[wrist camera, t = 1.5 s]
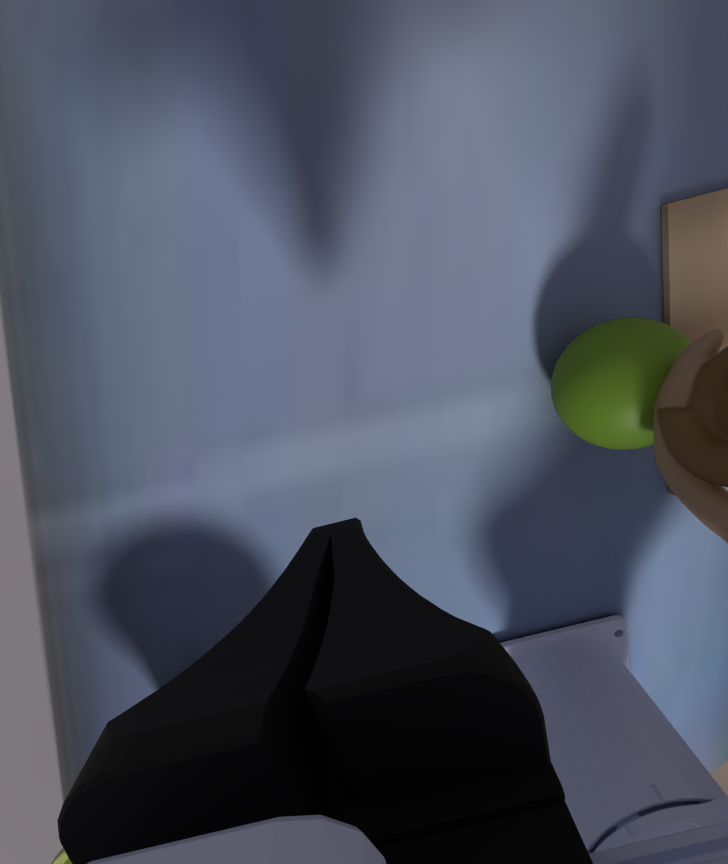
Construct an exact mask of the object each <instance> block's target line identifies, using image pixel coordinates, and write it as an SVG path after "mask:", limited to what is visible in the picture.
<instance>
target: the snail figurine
mask: <svg viewBox="0 0 728 864" xmlns="http://www.w3.org/2000/svg"><path fill="white" fill-rule="evenodd" d="M723 339H724V334H723V331H722V330H720V329H715V330H712V331H710V332H708V333H706V334H704V335H703V336H701V337H700V338H698V339H697V340H696V341H694V342H693V343H691V341H690V340H689V339H688V338H687V337H686V336H684V335H683V334H682V333H681V332H679V331H678V330H676V329H675V328H673V327H671V326H669V325H667V324H664V323H662V322H659V321H655V320H651V319H646V318H620V319H614V320H610V321H606V322H603V323H600V324H598V325H596V326H593V327H591V328H590V329H588V330H586V331H585V332H583V333H582V334H580V335H579V336H577V337H576V338H575V339H574V340H573V341H572V342H571V343H570V344H569V345H568V346H567V347H566V348H565V350H564V351H563V352H562V354H561V355H560V357H559V359H558V361H557V363H556V365H555V368H554V371H553V375H552V381H551V394H552V400H553V404H554V407H555V409H556V412H557V414H558V415H559V417H560V419H561V420H562V422H563V423H564V424H565V425H566V426H567V427H568V428H569V429H570V430H571V431H572V432H573V433H574V434H576V435H577V436H578V437H580V438H581V439H583V440H585V441H587V442H589V443H591V444H594V445H597V446H600V447H604V448H609V449H617V450H631V449H639V448H644V447H648V446H651V445H653V448H654V457H655V461H656V464H657V467H658V469H659V471H660V473H661V475H662V476H663V478H664V479H665V481H666V483H667V484H668V486H669V487H670V488H671V490H672V491H673V492H674V494H675V495H676V496H677V497H678V498H679V500H680V501H681V502H682V503H683V504H684V505H685V506H686V507H687V508H688V509H689V510H690V511H691V512H692V513H693V514H694V515H695V516H696V517H697V518H698V519H699V520H700V521H701V522H702V523H703V524H704V525H706V526H707V527H708V528H709V529H710V530H712V531H713V532H714V533H716V534H717V535H718V536H719V537H721V538H722V539H723V540H724V541H725V542H727V543H728V491H727V490H726V489H725V488H723V487H722V486H724V487H728V346H727V347H726V348H724V349H723V350H722V351H720V352H719V350H720V348H721V345H722V342H723ZM718 352H719V353H718Z"/></svg>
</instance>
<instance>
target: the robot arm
mask: <svg viewBox="0 0 728 864" xmlns="http://www.w3.org/2000/svg"><path fill="white" fill-rule="evenodd" d="M617 630H618V631H617ZM58 831H59V839H60V842H61V844H62V846H63V848H64V850H65V852H66V854H67V856H68V858H69V860H70V861H71V862H72V864H728V796H727V795H726V794H725V792H724V791H723V790H722V789H721V787H720V786H719V785H718V783H717V782H716V781H715V780H714V778H713V777H712V776H711V774H710V773H709V772H708V771H707V769H706V768H705V767H704V766H703V764H702V763H701V762H700V760H699V759H698V758H697V757H696V755H695V754H694V753H693V751H692V750H691V749H690V748H689V746H688V745H687V744H686V743H685V741H684V740H683V739H682V737H681V736H680V735H679V734H678V732H677V731H676V730H675V728H674V727H673V726H672V725H671V723H670V722H669V721H668V720H667V718H666V717H665V716H664V714H663V713H662V712H661V711H660V709H659V708H658V707H657V705H656V704H655V703H654V702H653V700H652V699H651V698H650V697H649V695H648V694H647V693H646V691H645V690H644V689H643V688H642V686H641V685H640V684H639V682H638V681H637V680H636V679H635V677H634V676H633V675H632V674H631V672H630V671H629V656H628V641H627V625H626V621H625V620H624V619H623V618H622V617H621V616H619V615H614V616H609V617H605V618H601V619H597V620H593V621H589V622H585V623H580V624H576V625H572V626H568V627H564V628H560V629H555V630H551V631H547V632H543V633H539V634H535V635H530V636H526V637H522V638H518V639H514V640H510V641H506V642H501V643H499V641H498V640H497V639H496V638H495V637H494V635H493V634H492V633H491V632H490V631H488V630H486V629H483V628H481V627H478V626H476V625H474V624H471V623H469V622H466V621H464V620H461V619H459V618H456V617H454V616H453V615H451V614H449V613H447V612H445V611H443V610H442V609H440V608H439V607H437V606H436V605H434V604H433V603H431V602H430V601H428V600H426V599H425V598H423V597H422V596H420V595H419V594H418V593H417V592H415V591H414V590H413V589H412V588H410V587H409V586H408V585H407V584H406V583H404V582H403V581H402V580H401V579H400V578H399V577H398V576H397V575H396V574H395V573H394V572H393V571H392V570H391V569H390V568H389V567H388V566H387V565H386V564H385V562H384V561H383V560H382V559H381V558H380V557H379V555H378V554H377V553H376V551H375V550H374V548H373V547H372V546H371V544H370V543H369V541H368V540H367V538H366V536H365V534H364V531H363V528H362V524H361V521H360V520H359V519H357V518H352V519H348V520H344V521H340V522H336V523H332V524H328V525H324V526H320V527H316V528H313V529H312V530H311V532H310V533H309V535H308V536H307V538H306V539H305V541H304V543H303V544H302V546H301V547H300V549H299V550H298V552H297V553H296V555H295V556H294V558H293V559H292V561H291V562H290V563H289V565H288V566H287V568H286V569H285V571H284V572H283V573H282V575H281V576H280V577H279V578H278V580H277V581H276V582H275V584H274V585H273V586H272V587H271V589H270V590H269V591H268V593H267V594H266V595H265V596H264V597H263V599H262V600H261V601H260V602H259V603H258V604H257V605H256V606H255V608H254V609H253V610H252V611H251V612H250V613H249V614H248V615H247V616H246V617H245V618H244V619H243V620H242V621H241V622H240V623H239V624H238V625H237V626H236V627H235V628H234V629H233V630H232V631H231V632H230V633H228V634H227V635H226V636H225V637H224V638H223V639H222V640H221V641H220V642H218V643H217V644H216V645H215V646H214V647H213V648H212V649H211V650H210V651H208V652H207V653H206V654H205V655H204V656H202V657H201V658H200V659H199V660H197V661H196V662H195V663H194V664H192V665H191V666H190V667H189V668H187V669H186V670H185V671H183V672H182V673H181V674H179V675H178V676H177V677H175V678H174V679H173V680H171V681H170V682H168V683H167V684H166V685H164V686H163V687H161V688H160V689H159V690H157V691H156V692H154V693H152V694H151V695H149V696H148V697H146V698H145V699H143V700H142V701H140V702H139V703H137V704H136V705H134V706H133V707H131V708H130V709H128V710H126V711H125V712H123V713H122V714H120V715H119V716H117V717H115V718H114V719H112V720H111V721H109V722H108V723H107V725H106V727H105V728H104V730H103V732H102V734H101V735H100V737H99V739H98V741H97V743H96V745H95V747H94V748H93V750H92V752H91V754H90V756H89V758H88V759H87V761H86V763H85V765H84V767H83V769H82V770H81V772H80V774H79V776H78V778H77V780H76V781H75V783H74V785H73V787H72V789H71V791H70V792H69V794H68V796H67V798H66V800H65V802H64V803H63V806H62V809H61V812H60V815H59V818H58Z"/></svg>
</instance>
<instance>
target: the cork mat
mask: <svg viewBox="0 0 728 864" xmlns="http://www.w3.org/2000/svg"><path fill="white" fill-rule="evenodd" d="M661 219H662V260H663V302H664V324H667V325H669V326H671V327H673V328H675V329H676V330H678V331H679V332H681V333H682V334H683V335H684V336H686V337H687V338H688V339H689V340H690V341H691V343H693V342H694V341H696V340H697V339H698V338H700V337H701V336H703V335H704V334H706V333H708V332H710V331H712V330H715V329H720V330H722V331H723V334H724V339H723V342H722V345H721V348H720V350H719V352H720V351H722V350H723V349H724V348H726V347H727V346H728V188H726V189H722V190H719V191H715V192H711V193H707V194H703V195H699V196H695V197H692V198H688V199H684V200H680V201H676V202H672V203H668V204H665V205H661ZM719 352H718V353H719ZM668 492H669V493H671V494H672V495H675V494H674V492H673V491H672V490H671V488H670V487H669V486H668Z"/></svg>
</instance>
